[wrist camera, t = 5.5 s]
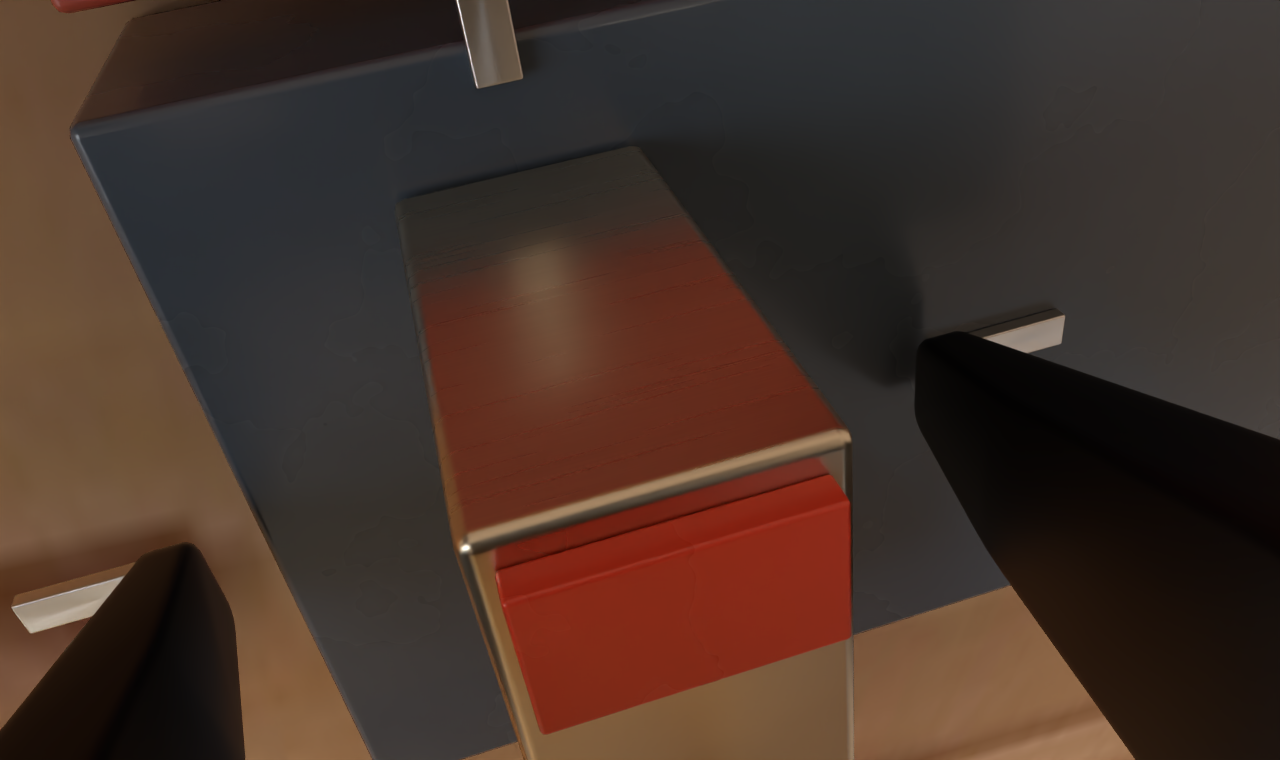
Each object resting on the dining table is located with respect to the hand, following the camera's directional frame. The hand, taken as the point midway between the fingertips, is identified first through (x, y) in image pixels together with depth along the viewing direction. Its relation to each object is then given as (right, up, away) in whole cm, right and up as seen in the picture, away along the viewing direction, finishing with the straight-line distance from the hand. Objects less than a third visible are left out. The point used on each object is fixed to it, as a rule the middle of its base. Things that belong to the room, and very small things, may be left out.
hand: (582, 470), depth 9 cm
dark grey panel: (+1, +2, +3) cm, 4 cm away
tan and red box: (0, 0, 0) cm, 0 cm away
